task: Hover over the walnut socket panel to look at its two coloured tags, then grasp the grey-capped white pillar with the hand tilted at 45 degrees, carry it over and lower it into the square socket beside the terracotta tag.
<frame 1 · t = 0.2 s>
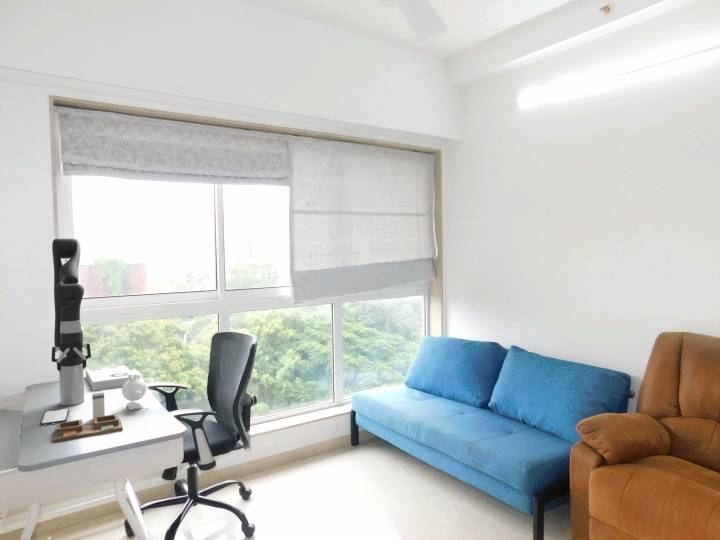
hand: (71, 370, 205), 18 cm above the table, tool pointing down, fingers open, 8 cm apart
power supply unit: (109, 382, 255), on the table
grey-capped white pillar: (98, 419, 195), on the table
toy robot: (134, 407, 210), on the table
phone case: (55, 419, 197), on the table
panel: (88, 431, 182), on the table
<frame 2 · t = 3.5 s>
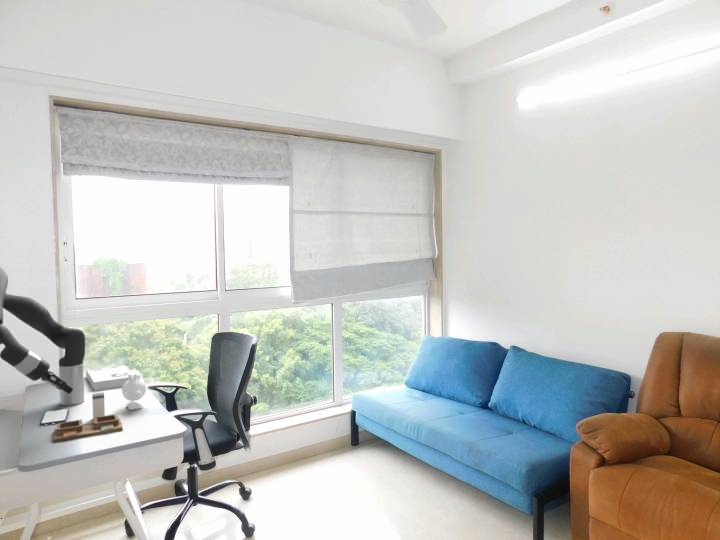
hand: (66, 389, 186), 14 cm above the table, tool tilted 45°, fingers open, 8 cm apart
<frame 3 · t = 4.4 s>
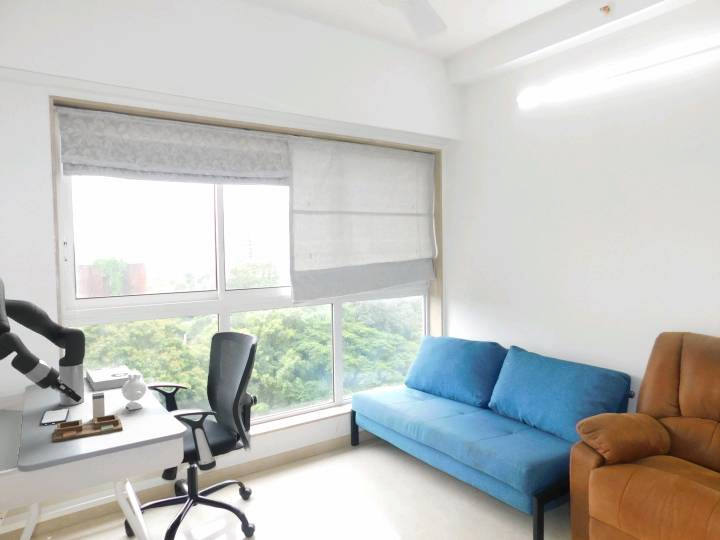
hand: (74, 397, 189), 11 cm above the table, tool tilted 45°, fingers open, 8 cm apart
nothing on the table moved.
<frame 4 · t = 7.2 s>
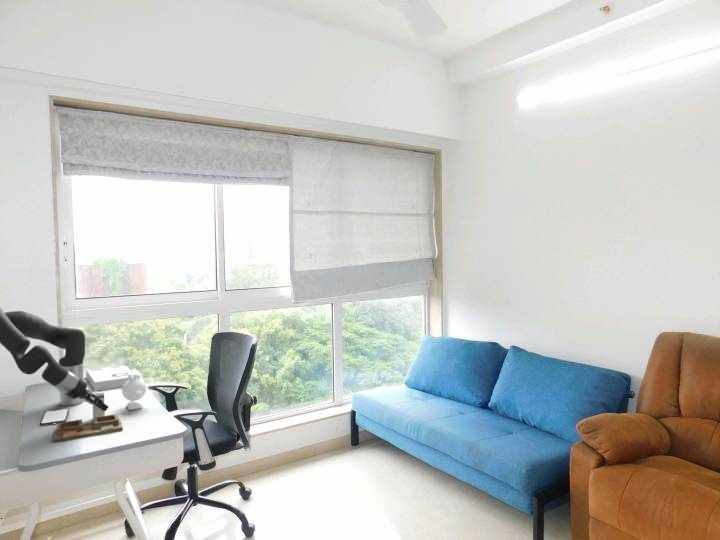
hand: (103, 407, 197), 4 cm above the table, tool tilted 45°, fingers closed on grey-capped white pillar, 5 cm apart
grey-capped white pillar: (98, 419, 195), on the table, touching gripper
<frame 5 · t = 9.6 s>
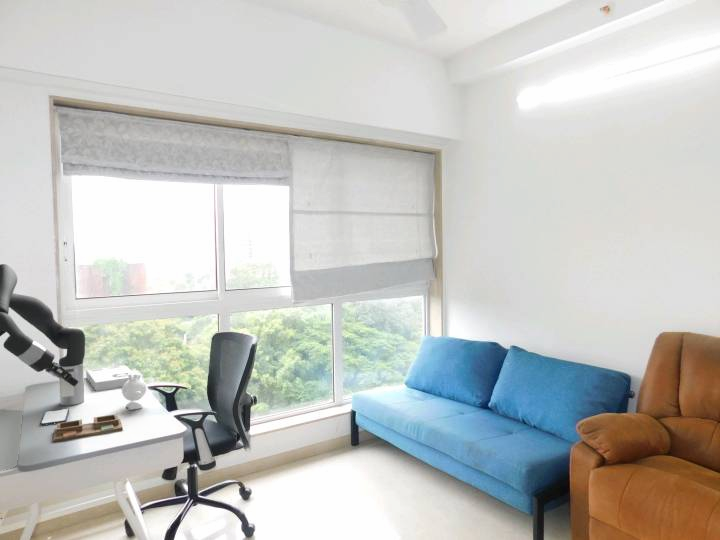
hand: (73, 382, 182), 18 cm above the table, tool tilted 45°, fingers closed on grey-capped white pillar, 5 cm apart
grey-capped white pillar: (67, 395, 180), point 14 cm above the table, touching gripper
when the fingers open (6 cm above the table, at t = 12.4 s): grey-capped white pillar drops 1 cm, resting on panel.
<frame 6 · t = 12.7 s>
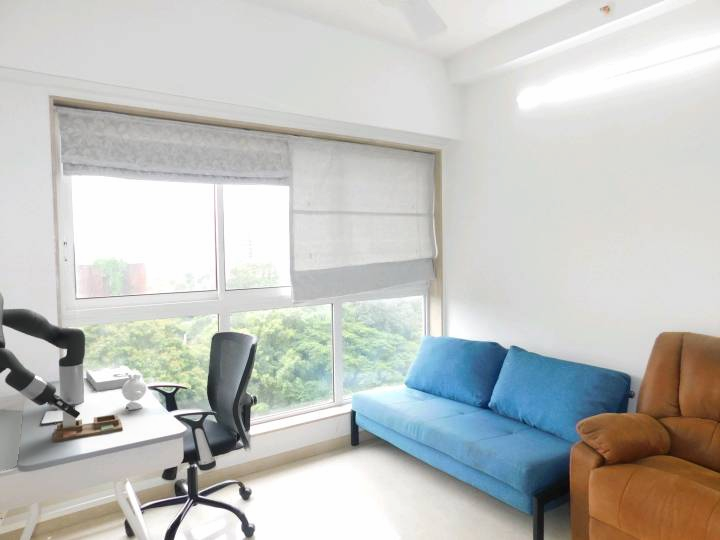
hand: (73, 413, 182), 7 cm above the table, tool tilted 45°, fingers open, 8 cm apart
grey-capped white pillar: (69, 429, 181), point 1 cm above the table, touching panel
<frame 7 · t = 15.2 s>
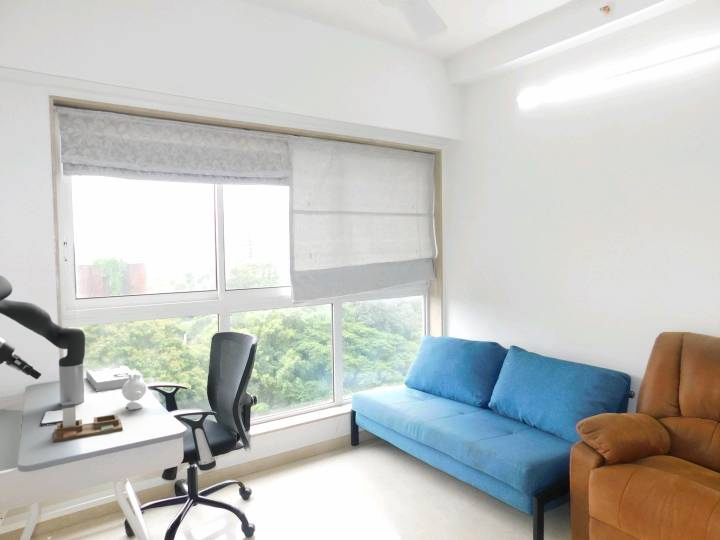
hand: (34, 374, 172), 24 cm above the table, tool tilted 45°, fingers open, 8 cm apart
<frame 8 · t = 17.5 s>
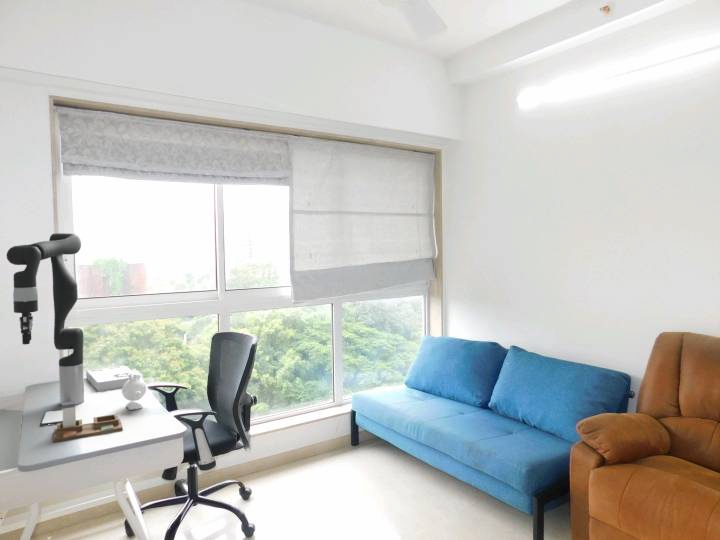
hand: (27, 342, 183), 33 cm above the table, tool pointing down, fingers open, 8 cm apart
at the end: grey-capped white pillar 0.1 cm from the target spot on the panel, point 1.0 cm above the panel's base; grey-capped white pillar tilted 0°; the gripper is holding nothing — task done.
